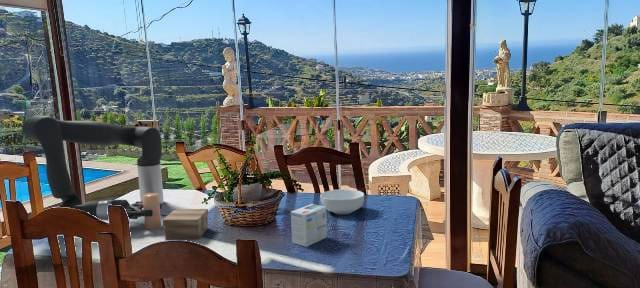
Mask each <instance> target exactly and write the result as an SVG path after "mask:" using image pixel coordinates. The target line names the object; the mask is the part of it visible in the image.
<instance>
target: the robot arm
mask: <svg viewBox="0 0 640 288" xmlns="http://www.w3.org/2000/svg"><path fill="white" fill-rule="evenodd" d="M21 131H22V133H23V134H24V136H25V137H26V138H27V139H28V140H30V141H33V142H37V143H39V145H40V146H41V147H42V151H43V154H44V156H45V165H46V167H45V169H46V170H45V172H46V174H45V175H46V180H47V185H48V186H49V190H50V192H51V195H52V197H53V198H54V199H57V200H58V199H59V200H61V201H62V203H61V204H60V205H59V206H58V207H70V208H75V209H80V210H83V211H85V212H89V213H90V214H91V215H94V216H96V217H97V218H99V219H101V220H100V221H107V222H109V221H108V214H107V206H108V204H112V205H121V206H123V207H124V208H125V209H126V212H127V214H128V217H129V219H128V220H137V219H139V218H145V216H153V211H152V210H144V206H143V195H144V194H148V193H158V194H159V204H160V210H161V209H162V208H163V204H164V203H165V202H164V201H165V200H164V189H163V178H162V177H163V176H162V166H161V160H162V156H163V154H162V153H163V152H162V151H163V149H162V147H163V145H162V136H161V132H160V130H159V129H158V128H156V127H154V126H153V127H152V126H142V125H141V126H120V125H117V124H114V123H110V122H105V121H104V122H103V121H95V120H61V119H55V118H54V117H53V116H50V115H33V116H30V117H28V118H26V119H25V120H24V121H23V123H22V125H21ZM63 141H64V142H69V143H75V144H80V145H87V146H98V147H109V146H116V145H123V146H131V147H135V148H139V149H142V150H141V151H142V152H141V156H140V157H138V158H137V160H136V164H137V165H136V166H137V176H138V177H137V178H138V186H139V198H140V201H135V202H134V203H131V204H130V203H129V201H128V200H127V199H105V200H89V201H86V202H84V203H83V202H82V200H81V198H80V196H79V195H78V193H77V191H76V190H75V189H74V186H73V184H72V180H71V177H70V174H69V171H68V167H67V166H68V165H67V164H66V158H65V152H64V146H63Z"/></svg>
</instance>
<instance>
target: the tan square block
mask: <svg viewBox="0 0 640 288" xmlns="http://www.w3.org/2000/svg"><path fill="white" fill-rule="evenodd" d="M208 215H209V209H208V208H186V209H181V208H180V209H173V210H172V211H171V212H170V213H169V214H168V215H166V216H165V217H164V218H163V219H162V226H163V227H164V236H165V237H164V239H165V240H167V241H168V240H169V241H170V240H171V241H174V240H173V239H179V240H180V241H181V240H183V241H184V240H200V239H201V237H202V236H203V235H204V233H206V231H207V230H208V229H209V224H208V223H209V222H208V220H209V219H208Z"/></svg>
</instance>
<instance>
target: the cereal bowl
mask: <svg viewBox="0 0 640 288" xmlns="http://www.w3.org/2000/svg"><path fill="white" fill-rule="evenodd" d="M319 197H320V204H321V206H325V207H326V211H329V212H332V213H334V214H335V215H350V214H351V213H354V212H355V211H357V210H359V209H360V208H361V207H362V206H363V205H364V203H365V192H362V191H360V190H356V189H347V188H345V189H344V188H343V189H341V188H339V189H331V190H327V191H324V192H322V193H321V194H320V196H319Z"/></svg>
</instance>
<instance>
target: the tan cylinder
mask: <svg viewBox="0 0 640 288" xmlns="http://www.w3.org/2000/svg"><path fill="white" fill-rule="evenodd" d="M143 206H144V210H152V211H153V216H145V217H144V224H145V226H144V227H145V229H146V230H155V229H160V228H161V227H162V217H161V209H160V204H159V194H158V193H148V194H144V195H143Z"/></svg>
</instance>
